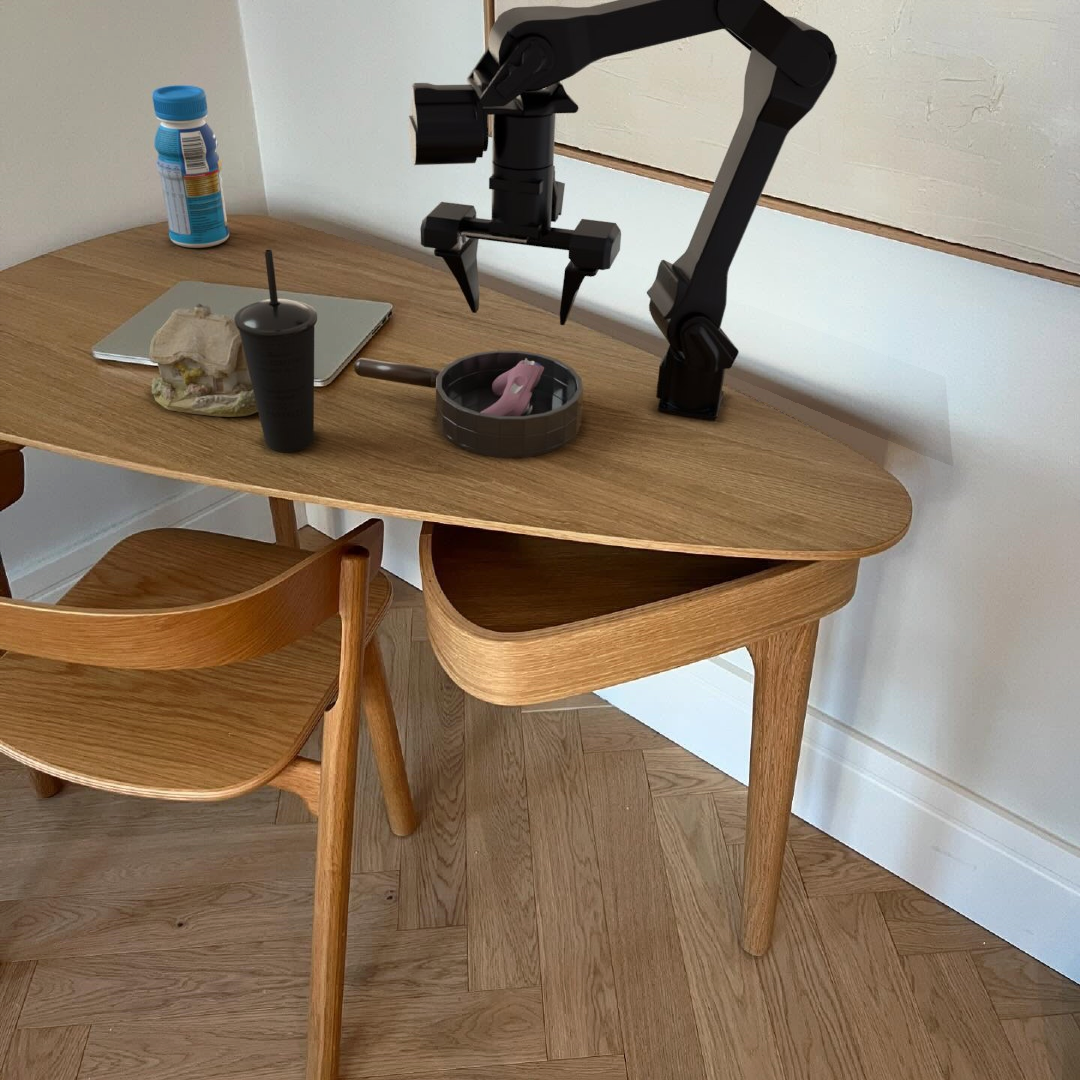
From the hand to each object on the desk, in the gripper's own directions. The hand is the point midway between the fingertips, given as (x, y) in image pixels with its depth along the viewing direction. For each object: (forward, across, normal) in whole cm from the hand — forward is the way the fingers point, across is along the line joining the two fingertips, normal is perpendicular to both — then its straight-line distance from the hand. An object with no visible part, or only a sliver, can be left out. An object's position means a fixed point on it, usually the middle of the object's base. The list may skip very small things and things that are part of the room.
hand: (519, 317), depth 110 cm
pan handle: (+9, +13, +1) cm, 16 cm away
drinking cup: (+12, +21, +12) cm, 27 cm away
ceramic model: (+12, +33, +5) cm, 35 cm away
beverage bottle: (+11, +56, -35) cm, 67 cm away
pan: (+11, 0, +1) cm, 11 cm away
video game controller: (+11, 0, +1) cm, 11 cm away
